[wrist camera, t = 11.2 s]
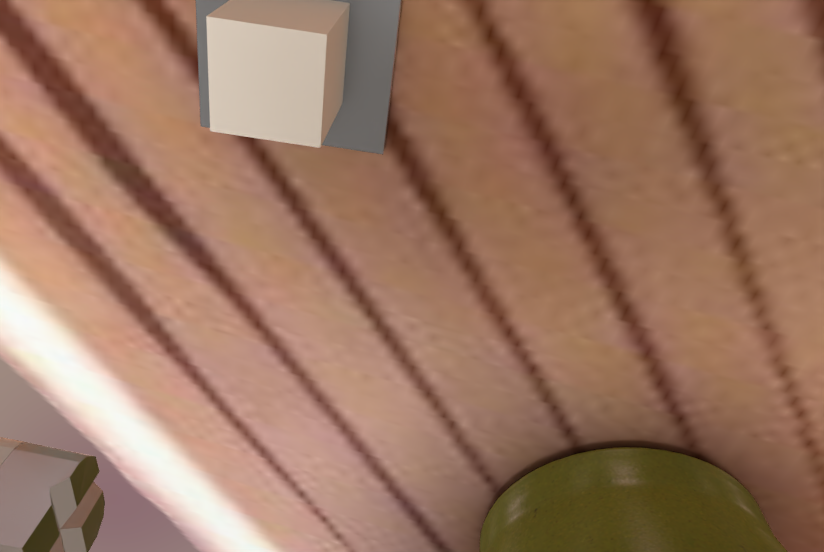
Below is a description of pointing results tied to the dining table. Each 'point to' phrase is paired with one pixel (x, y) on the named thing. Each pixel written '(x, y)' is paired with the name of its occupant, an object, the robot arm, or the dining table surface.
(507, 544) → the plant pot
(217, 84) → the cream block
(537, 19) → the dining table surface
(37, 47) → the dining table surface
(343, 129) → the slate coaster
